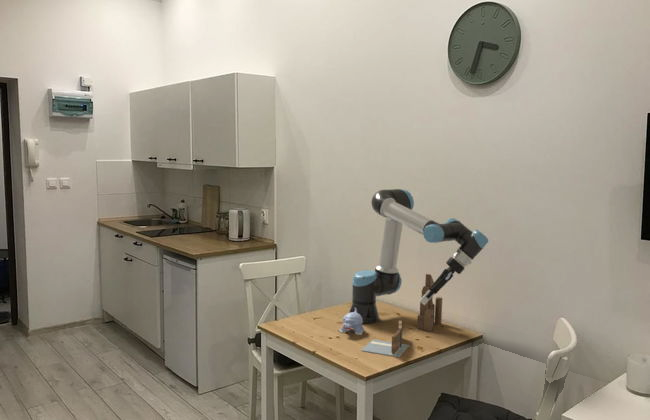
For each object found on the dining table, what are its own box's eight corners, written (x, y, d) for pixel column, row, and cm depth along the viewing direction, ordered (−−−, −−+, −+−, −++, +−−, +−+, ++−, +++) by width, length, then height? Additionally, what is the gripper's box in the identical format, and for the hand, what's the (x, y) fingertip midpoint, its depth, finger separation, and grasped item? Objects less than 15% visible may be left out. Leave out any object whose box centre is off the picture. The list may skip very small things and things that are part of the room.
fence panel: (400, 345, 226) (401, 328, 225) (398, 344, 226) (398, 328, 225) (401, 335, 238) (401, 320, 237) (398, 335, 238) (398, 320, 237)
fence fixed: (390, 355, 216) (391, 336, 215) (398, 346, 226) (398, 328, 225) (394, 355, 215) (395, 337, 214) (401, 347, 225) (402, 329, 224)
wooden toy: (430, 331, 247) (432, 278, 245) (416, 328, 251) (418, 276, 249) (442, 323, 260) (444, 272, 258) (429, 321, 264) (431, 271, 262)
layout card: (361, 351, 220) (361, 350, 220) (372, 340, 233) (372, 339, 233) (399, 357, 213) (399, 356, 213) (408, 345, 227) (408, 344, 227)
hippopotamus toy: (334, 335, 238) (335, 314, 238) (344, 326, 253) (345, 306, 252) (358, 338, 235) (358, 317, 234) (366, 329, 249) (367, 309, 248)
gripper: (467, 269, 221) (429, 312, 223) (463, 265, 234) (427, 305, 236) (453, 257, 221) (415, 300, 224) (450, 254, 234) (414, 294, 237)
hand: (421, 302), depth 230 cm, fingers closed
